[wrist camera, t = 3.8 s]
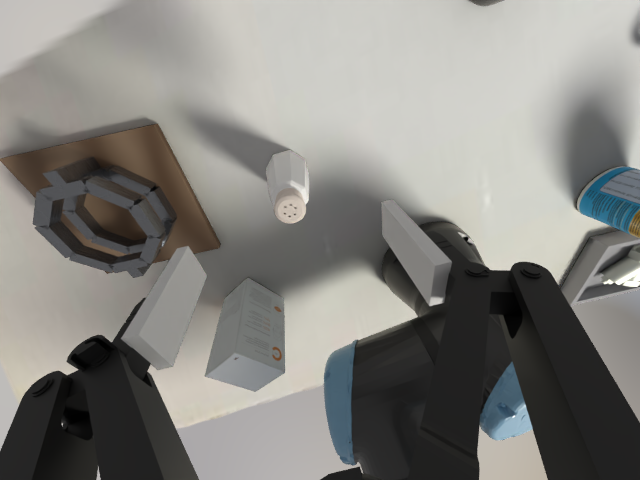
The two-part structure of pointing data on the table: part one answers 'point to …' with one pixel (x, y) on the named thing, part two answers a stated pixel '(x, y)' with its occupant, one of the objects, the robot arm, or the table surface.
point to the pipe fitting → (624, 270)
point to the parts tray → (598, 268)
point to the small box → (249, 338)
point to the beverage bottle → (614, 199)
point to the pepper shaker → (288, 185)
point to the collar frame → (71, 196)
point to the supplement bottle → (485, 2)
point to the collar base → (140, 158)
